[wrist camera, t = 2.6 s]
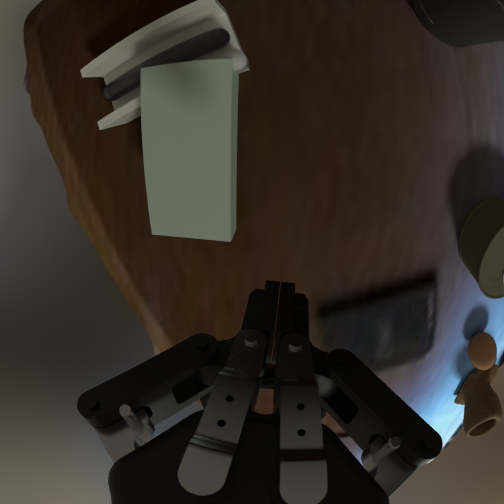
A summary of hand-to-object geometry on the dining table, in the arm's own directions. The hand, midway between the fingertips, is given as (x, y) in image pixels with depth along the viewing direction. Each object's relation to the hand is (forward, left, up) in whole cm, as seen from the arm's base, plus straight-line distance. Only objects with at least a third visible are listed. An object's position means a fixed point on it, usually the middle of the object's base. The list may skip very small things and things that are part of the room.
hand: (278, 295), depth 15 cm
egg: (-29, +34, -19) cm, 49 cm away
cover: (+6, -8, -13) cm, 16 cm away
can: (-27, +12, -19) cm, 35 cm away
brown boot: (-34, +53, -19) cm, 66 cm away
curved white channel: (+8, -18, -19) cm, 27 cm away
